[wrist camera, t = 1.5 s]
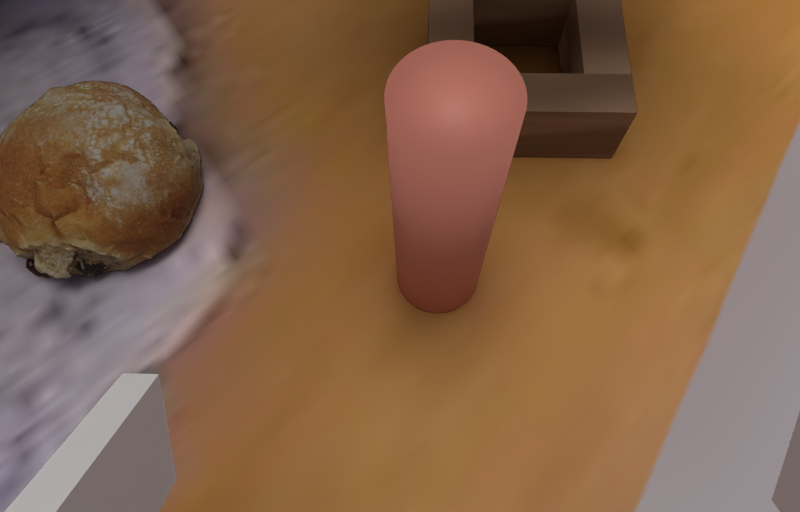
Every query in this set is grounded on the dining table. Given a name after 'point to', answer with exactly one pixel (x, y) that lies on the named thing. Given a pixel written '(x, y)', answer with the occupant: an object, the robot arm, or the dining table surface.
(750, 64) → the dining table surface
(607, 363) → the dining table surface
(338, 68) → the dining table surface
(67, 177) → the bread roll
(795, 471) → the robot arm
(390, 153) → the peg
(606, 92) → the awning socket
